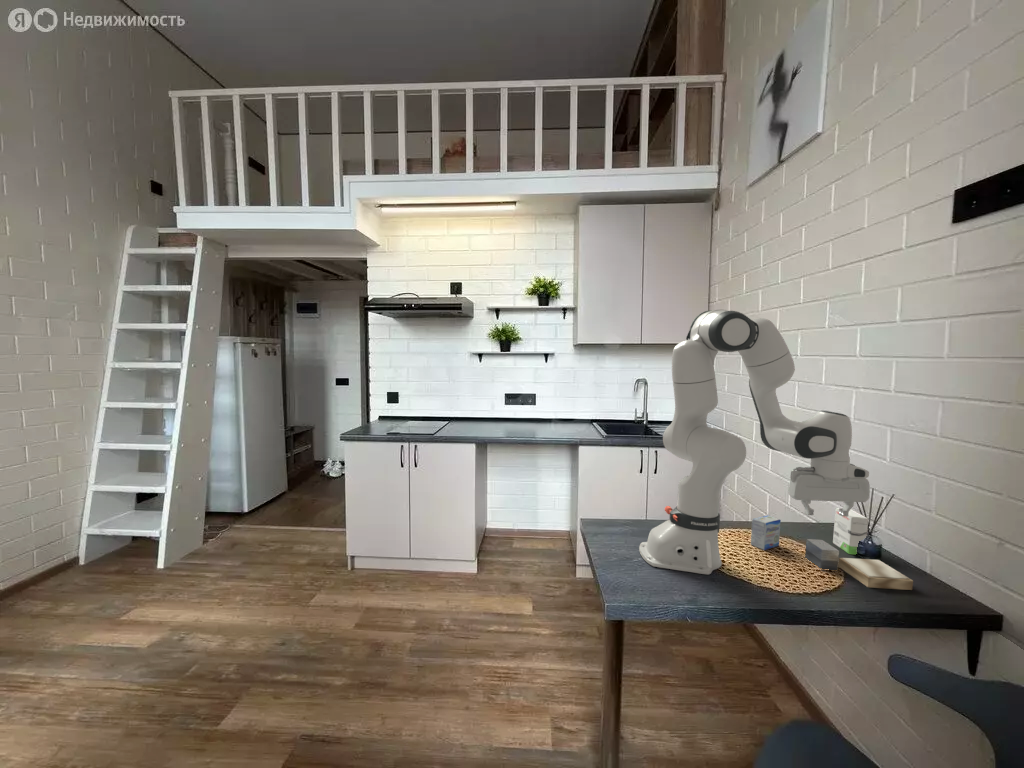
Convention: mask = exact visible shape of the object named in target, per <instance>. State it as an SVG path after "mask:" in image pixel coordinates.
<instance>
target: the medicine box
mask: <svg viewBox="0 0 1024 768" xmlns="http://www.w3.org/2000/svg"><path fill="white" fill-rule="evenodd" d="M751 520H752V521H751V535H750V536H751V537H750V545H751V546H752V547H756V548H758V549H760V550H762V551H766V550H769V549H772V548H775V547H779V546H780V533H781V532H780V531H781V520H782V519H779V518H777V517H774V516H771V515H764V516H759V517H756V518H752V519H751Z"/></svg>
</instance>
